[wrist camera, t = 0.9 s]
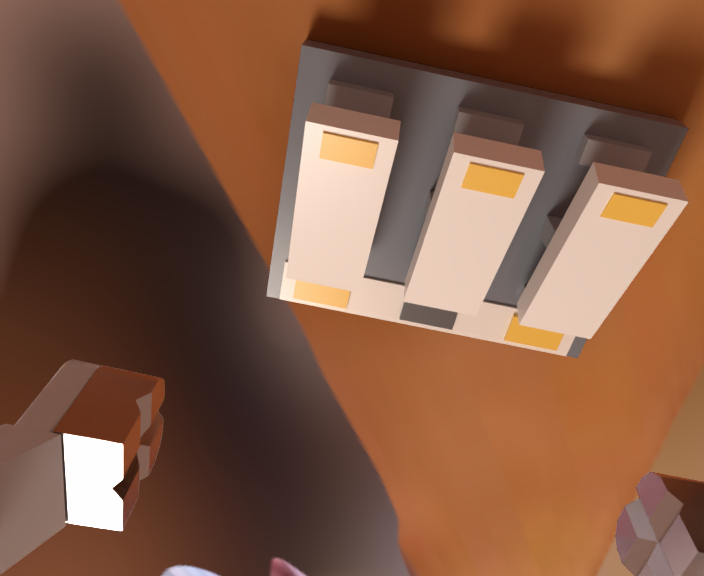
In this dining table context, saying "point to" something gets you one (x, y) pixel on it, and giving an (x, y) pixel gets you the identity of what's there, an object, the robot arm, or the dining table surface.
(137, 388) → the robot arm
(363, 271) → the block
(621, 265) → the block
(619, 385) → the dining table surface
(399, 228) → the switch unit
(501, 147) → the rocker
